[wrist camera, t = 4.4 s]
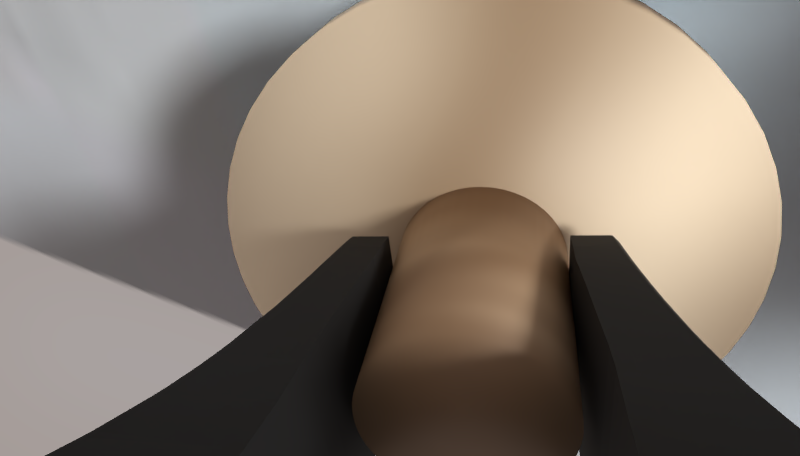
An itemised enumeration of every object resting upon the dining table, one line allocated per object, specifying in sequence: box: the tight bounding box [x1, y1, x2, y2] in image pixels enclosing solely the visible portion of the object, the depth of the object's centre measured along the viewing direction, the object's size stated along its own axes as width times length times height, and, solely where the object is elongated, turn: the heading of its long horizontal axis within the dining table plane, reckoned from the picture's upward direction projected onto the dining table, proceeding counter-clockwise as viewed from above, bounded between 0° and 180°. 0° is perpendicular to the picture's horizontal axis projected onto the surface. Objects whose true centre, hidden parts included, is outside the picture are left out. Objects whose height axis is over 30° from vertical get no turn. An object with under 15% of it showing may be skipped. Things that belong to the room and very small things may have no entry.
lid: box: [227, 0, 782, 456], centre depth 9 cm, size 9×9×4 cm
